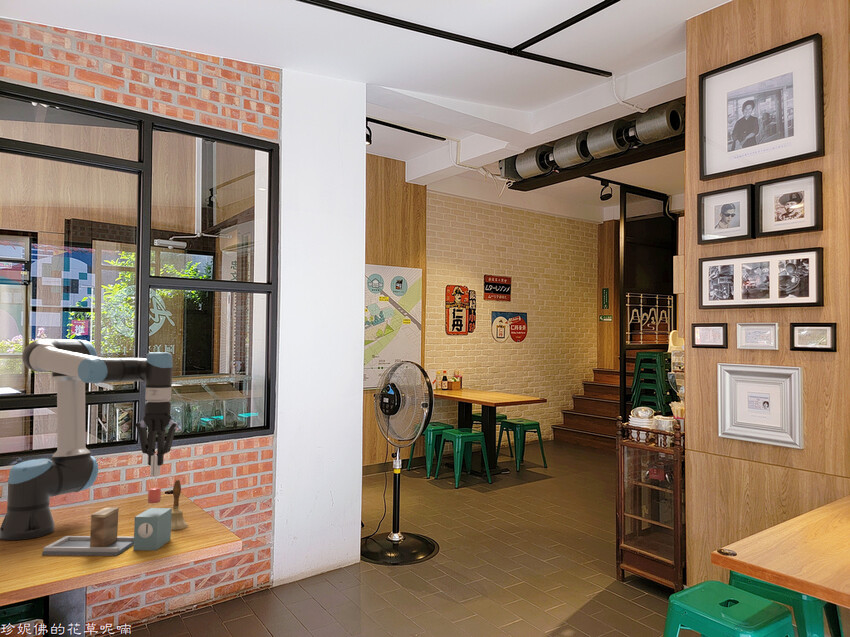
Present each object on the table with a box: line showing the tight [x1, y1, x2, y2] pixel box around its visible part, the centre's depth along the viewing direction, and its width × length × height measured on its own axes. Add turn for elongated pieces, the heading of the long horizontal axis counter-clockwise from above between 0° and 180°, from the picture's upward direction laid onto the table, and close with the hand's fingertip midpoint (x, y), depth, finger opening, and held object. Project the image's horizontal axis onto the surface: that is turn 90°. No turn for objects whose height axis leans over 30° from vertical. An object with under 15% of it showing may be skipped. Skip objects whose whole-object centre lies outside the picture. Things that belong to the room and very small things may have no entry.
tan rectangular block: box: [89, 506, 120, 547], centre depth 178 cm, size 4×8×10 cm, turn 0°
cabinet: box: [133, 507, 173, 551], centre depth 181 cm, size 7×11×10 cm, turn 0°
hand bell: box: [171, 479, 189, 531], centre depth 201 cm, size 8×8×16 cm
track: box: [41, 535, 134, 557], centre depth 177 cm, size 22×12×2 cm, turn 90°
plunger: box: [147, 487, 162, 504], centre depth 182 cm, size 4×4×4 cm
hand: (155, 475), depth 183 cm, fingers closed
